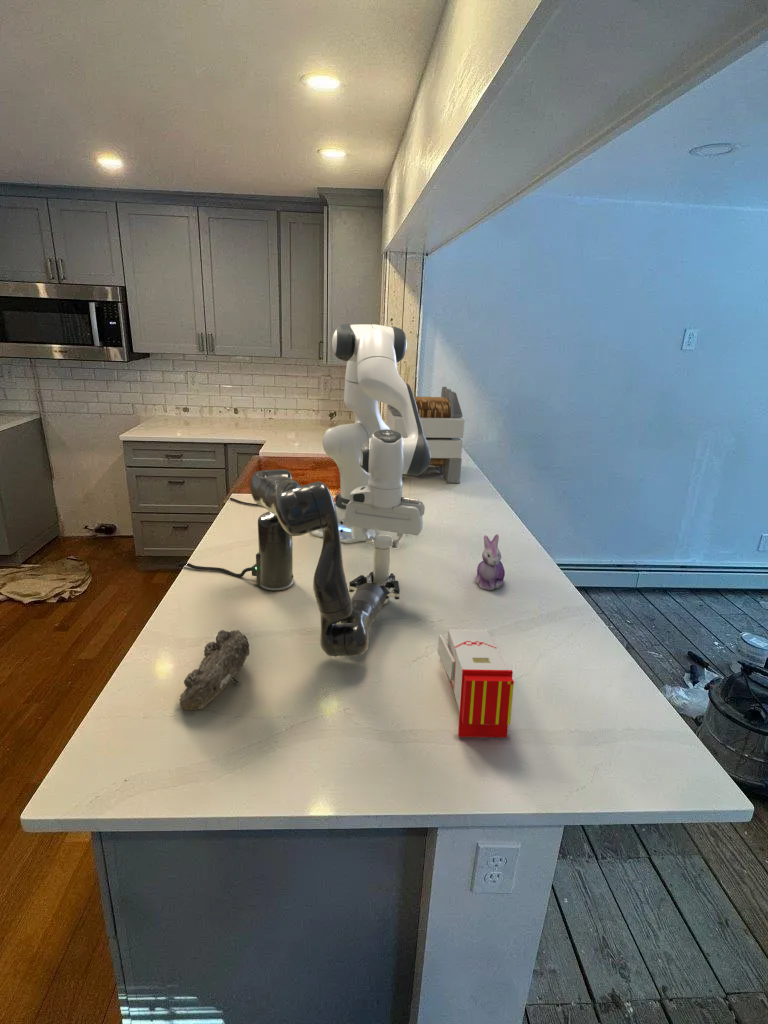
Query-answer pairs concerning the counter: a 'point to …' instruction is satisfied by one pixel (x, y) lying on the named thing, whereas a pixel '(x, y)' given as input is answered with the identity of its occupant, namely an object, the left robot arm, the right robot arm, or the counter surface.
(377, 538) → the lid
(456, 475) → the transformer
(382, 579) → the cream cylinder
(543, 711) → the counter surface
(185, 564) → the left robot arm
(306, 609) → the counter surface
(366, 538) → the right robot arm
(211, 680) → the fossil
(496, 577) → the figurine
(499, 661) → the toy
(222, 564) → the counter surface
